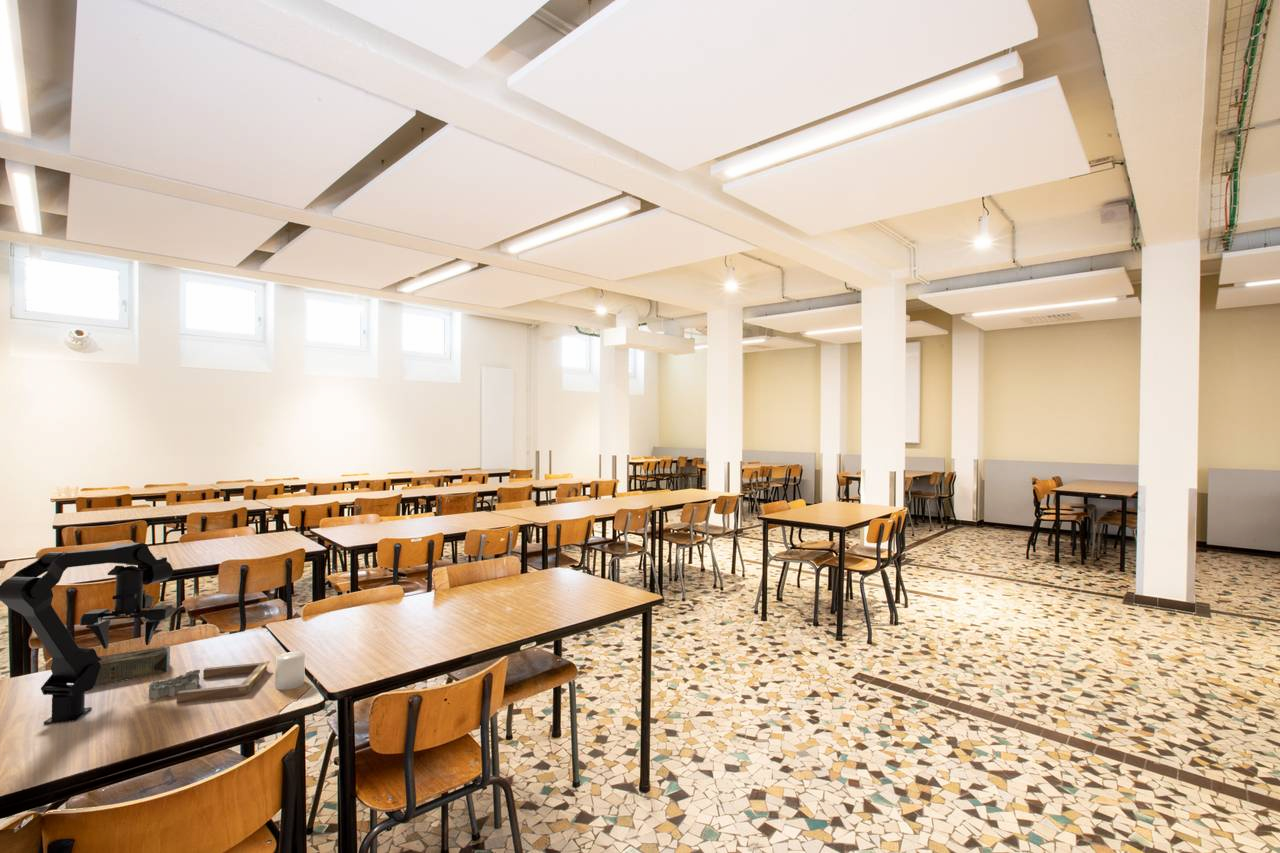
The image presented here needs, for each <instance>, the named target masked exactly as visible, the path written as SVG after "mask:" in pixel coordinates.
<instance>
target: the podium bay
mask: <svg viewBox="0 0 1280 853" xmlns="http://www.w3.org/2000/svg"><path fill="white" fill-rule="evenodd" d="M270 662H271V660H267V661H265V662H254V663H243V664H242V663H241V664H233V665H223V666H212V667H205V668H204V669H203V674H202V677H203V679H213V678H225V677H235V676H243V675H245V676H246V675H248V676H247V677H246V678H245V679H244V680H243V681H242V683H241V684H235V685H225V686H223V685H222V686H214V687H206V688H205V687H204V688H197V689H193V690H184V691H179V692H178V693H177V694H176V704H179V703H188V702H189V703H190V702H199V701H208V700H209V701H210V700H218V699H227V698H235V697H245V696H246V695H247V694H248V693H249V692H250V690H252V688H253V687H254V686H255V685H256V684H257V682H259V681H260V679H261V678H262V676H264V675H265V673H267V669H268V665H269V664H270Z"/></svg>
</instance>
